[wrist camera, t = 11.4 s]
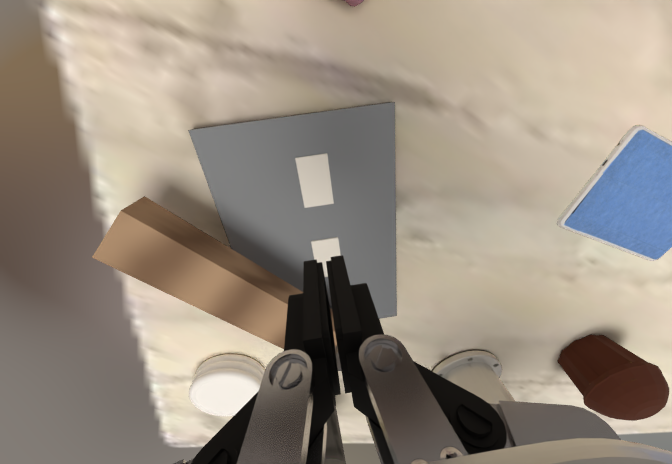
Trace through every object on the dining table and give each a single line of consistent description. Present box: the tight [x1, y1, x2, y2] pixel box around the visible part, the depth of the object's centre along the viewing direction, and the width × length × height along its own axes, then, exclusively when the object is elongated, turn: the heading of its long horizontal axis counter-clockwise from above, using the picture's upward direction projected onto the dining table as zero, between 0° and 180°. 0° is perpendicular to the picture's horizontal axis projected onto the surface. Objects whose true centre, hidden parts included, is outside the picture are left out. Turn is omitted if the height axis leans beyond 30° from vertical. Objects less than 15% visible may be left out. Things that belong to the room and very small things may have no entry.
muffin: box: [557, 335, 669, 420], centre depth 41 cm, size 12×11×10 cm
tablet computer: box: [557, 125, 672, 261], centre depth 32 cm, size 19×13×1 cm, turn 70°
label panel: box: [188, 102, 397, 319], centre depth 27 cm, size 26×18×4 cm
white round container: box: [189, 354, 265, 416], centre depth 37 cm, size 10×10×4 cm
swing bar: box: [92, 196, 342, 371], centre depth 25 cm, size 26×5×3 cm, turn 48°
